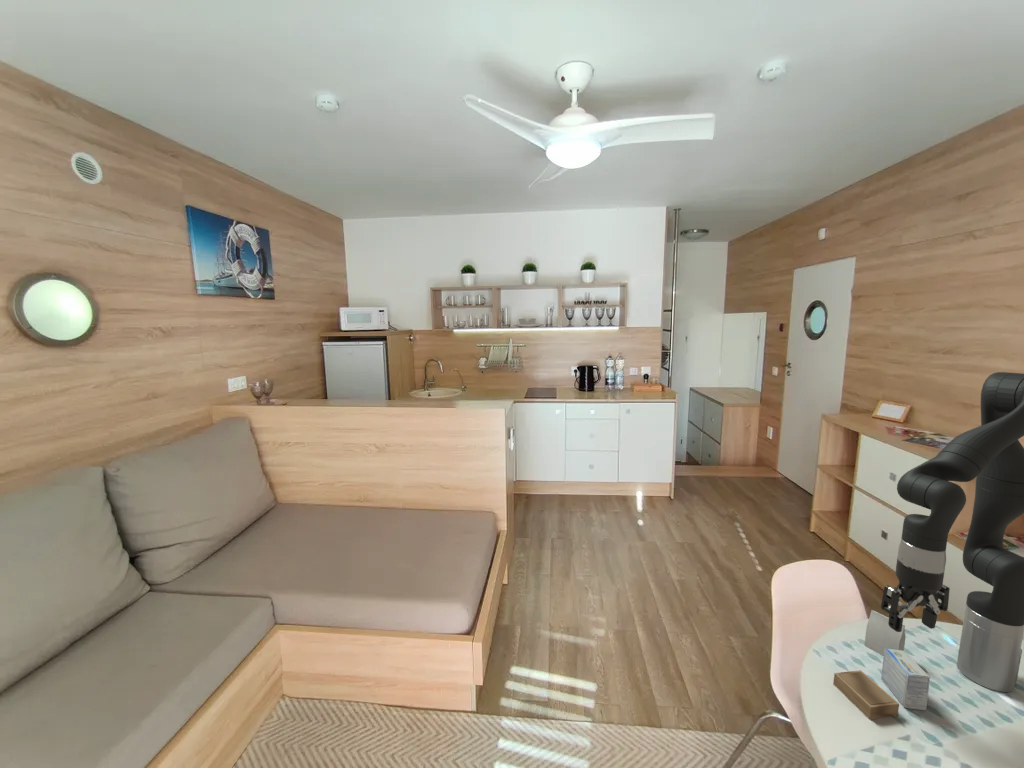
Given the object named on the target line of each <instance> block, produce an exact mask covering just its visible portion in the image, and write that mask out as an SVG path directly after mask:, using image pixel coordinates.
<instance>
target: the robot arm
mask: <svg viewBox="0 0 1024 768" xmlns="http://www.w3.org/2000/svg"><path fill="white" fill-rule="evenodd" d="M1023 437H1024V373H1023V372H1022V373H1019V372H1017V373H1016V372H1007V371H1001V372H1000V371H997V372H993V373H991V374H990V375H989V376H988V377H986V379H985V381H984V382H983V385H982V388H981V391H980V425H979V426H977V427H974V428H971V429H968V430H966V431H964V432H962V433H960V434H958V435H957V436H955V437H953V439H951V440H950V441H949V442H948V443H947V444H946V445H945V446H944V447H943V448H942V449H941V450H940V451H939V452H938V453H937V455H935V456H934V457H932V458H929V459H928V460H926V461H924V462H922V463H921V464H919V465H917V466H915V467H914V468H911V469H910V470H907V472H905V473H903V475H902V476H901V477H899V479H898V482H897V484H896V491H897V494H898V495H899V497H900V498H902V500H904V501H906V502H907V503H911V504H914V505H916V506H919V507H921V508H922V507H923V508H925V509H928V510H930V514H929V515H926V514H920V513H911V514H907V515H906V516H905V517H904V519H903V523H902V531H901V538H900V542H899V545H898V549H897V550H898V551H897V558H896V564H895V565H896V567H895V572H894V573H895V576H896V577H897V579H898V585H897V586H896V587H892V586H890V585H889V584H887V585H884V588H883V593H882V599H881V604H880V608H881V610H883V611H885V612H886V613H888V614H889V616H888V618H889V622H888V624H889V626H890V627H891V628H892V629H893V630H895V631H896V632H901V631H902V624H903V622H904V616H905V615H906V613H907V612H912V610H914V608H917V607H920V606H921V607H923V609H922V616H921V624H923V625H924V626H925V627H927V628H929V629H931V630H932V629H935V628H936V624H937V618H938V615H940V614H941V611H943V612H947V611H948V609H949V598H950V590H951V589H950V587H949V586H946V585H945V584H944V577H945V570H946V564H947V555H946V554H947V545H948V536H949V533H950V531H951V529H952V527H953V525H954V523H955V521H956V520H957V519H958V516H959V515H960V513H961V512H962V511H963V509H964V507H965V506H966V503H967V495H966V493H965V490H964V489H963V488H962V487H961V485H959V484H957V483H958V482H959V483H967V482H971V481H973V480H975V490H974V491H975V492H974V493H975V494H974V502H973V507H972V514H971V521H970V525H969V529H968V533H967V536H966V539H965V542H964V547H963V552H962V564H963V566H964V569H965V570H966V571H967V572H968V573H970V574H971V575H973V576H974V577H976V578H977V579H979V580H981V581H983V582H985V583H986V584H988V585H990V586H992V592H988V591H982V590H980V591H979V590H974V591H970V592H969V593H968V594H967V596H966V602H965V603H966V604H965V609H964V615H963V622H962V628H961V636H960V639H959V640H960V641H959V648H958V652H957V653H958V655H957V661H956V667H957V669H958V670H959V672H960V673H962V675H964V676H965V677H966V678H967V679H969V680H971V681H973V682H974V683H976V684H978V685H980V686H983V687H985V688H986V689H989V690H993V691H996V692H1000V693H1010V692H1012V691H1013V690H1014V687H1015V685H1017V682H1018V678H1019V677H1018V675H1019V671H1020V664H1021V658H1022V653H1023V649H1022V648H1021V647H1022V642H1023V637H1024V556H1021V555H1019V554H1017V553H1015V552H1012V551H1010V550H1009V549H1006V548H1005V547H1004V536H1005V532H1006V529H1007V528H1008V526H1009V525H1010V524H1011V523H1012V522H1013V521H1015V520H1016V519H1018V518H1020V517H1021V516H1022V515H1024V446H1023V445H1022V443H1021V442H1020V441H1019V440H1020V439H1021V438H1023ZM954 482H955V483H954ZM956 482H957V483H956ZM900 600H902V601H903V602H904V603H906V604H904V603H903V602H901V601H900ZM939 600H940V601H939ZM899 606H900V607H901V608H900V609H898V608H899ZM903 625H904V624H903Z"/></svg>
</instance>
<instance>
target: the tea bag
mask: <svg viewBox="0 0 1024 768" xmlns="http://www.w3.org/2000/svg"><path fill="white" fill-rule="evenodd" d="M888 622H889V616H886V615H884V614H881V613H880V612H877V611H876V610H873V609H871V610H870V615H869V618H868V621H867V623H866V629H865V636H864V637H865V638H864V647H865V648H868V649H869V650H871V651H873V652H875V653H877V654H878V653H879V654H878V655H880V656H882V657H884V650H885V649H894V650H901V651H905V645H906V629H905V627H906V625H904V624H902V631H901V632H896V631H895V630H893V629H892V628H891V627H890V626H889V624H888Z"/></svg>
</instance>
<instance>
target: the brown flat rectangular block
mask: <svg viewBox="0 0 1024 768" xmlns="http://www.w3.org/2000/svg"><path fill="white" fill-rule="evenodd" d="M832 685H834V686H835V688H836V689H838V690H839V691H840V693H842V694H843V696H845V697H846V698H847V699H848V700H849V701H850V702H851V703H852V704H853V705H854V706H855V707H856V708H857V709H858V710H859V711H860V712H861V713H862V714H863V715H865V717H866V718H868V719H869V720H872V719H873V720H874V719H875V720H876V719H882V718H889V717H898V715H899V709H900V703H899V702H898V701H897V700H896V699H894V698H893V697H892V696H891V695H890V694H888V693H887V692H886V691H885V690H884V689H883V688H882V687H881V686H880V685H878V684H877V683H876V682H875V681H873V679H871V678H870V677H869V676H868V675H867V674H866V673H865V672H863V671H862V670H861V669H859V670H852V671H851V670H849V671H844V672H843V671H841V672H834V674H833V684H832Z"/></svg>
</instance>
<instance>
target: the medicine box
mask: <svg viewBox="0 0 1024 768" xmlns="http://www.w3.org/2000/svg"><path fill="white" fill-rule="evenodd" d="M880 677H881V678H880V679H881V682H883V683H884V685H885V686H886V687H887V688H888V689H889V690H890V692H892V694H893V695H894V696H895V698H896V699H897V700H898V701H899V702H900V703H899V704H901V705H902V707H903V708H905V709H911V710H920V711H927V705H928V698H929V697H928V696H929V691H930V690H929V689H930V688H929V687H930V679H931V678H930V676H929V675H928V674H927V672H925V670H924V669H923V668H921V666H920V665H919V664H918V663H917V662H916V661H915V660H914V659H913V658H912V657H911V656H910V655H909V653H907V651H905V650H904V651H901V650H894V649H885V650H884V656H883V659H882V667H881V676H880Z"/></svg>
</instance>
